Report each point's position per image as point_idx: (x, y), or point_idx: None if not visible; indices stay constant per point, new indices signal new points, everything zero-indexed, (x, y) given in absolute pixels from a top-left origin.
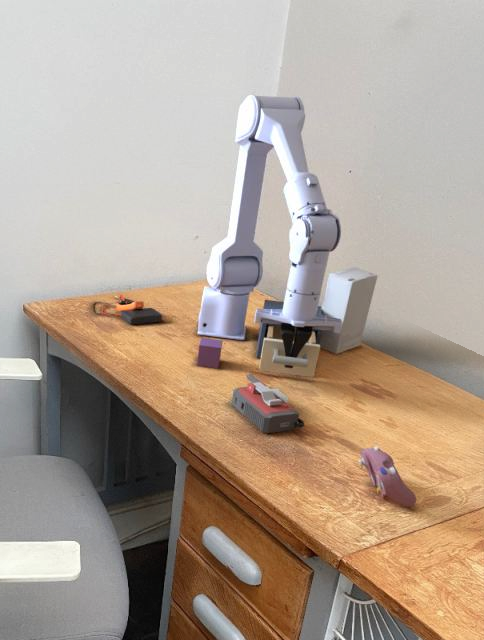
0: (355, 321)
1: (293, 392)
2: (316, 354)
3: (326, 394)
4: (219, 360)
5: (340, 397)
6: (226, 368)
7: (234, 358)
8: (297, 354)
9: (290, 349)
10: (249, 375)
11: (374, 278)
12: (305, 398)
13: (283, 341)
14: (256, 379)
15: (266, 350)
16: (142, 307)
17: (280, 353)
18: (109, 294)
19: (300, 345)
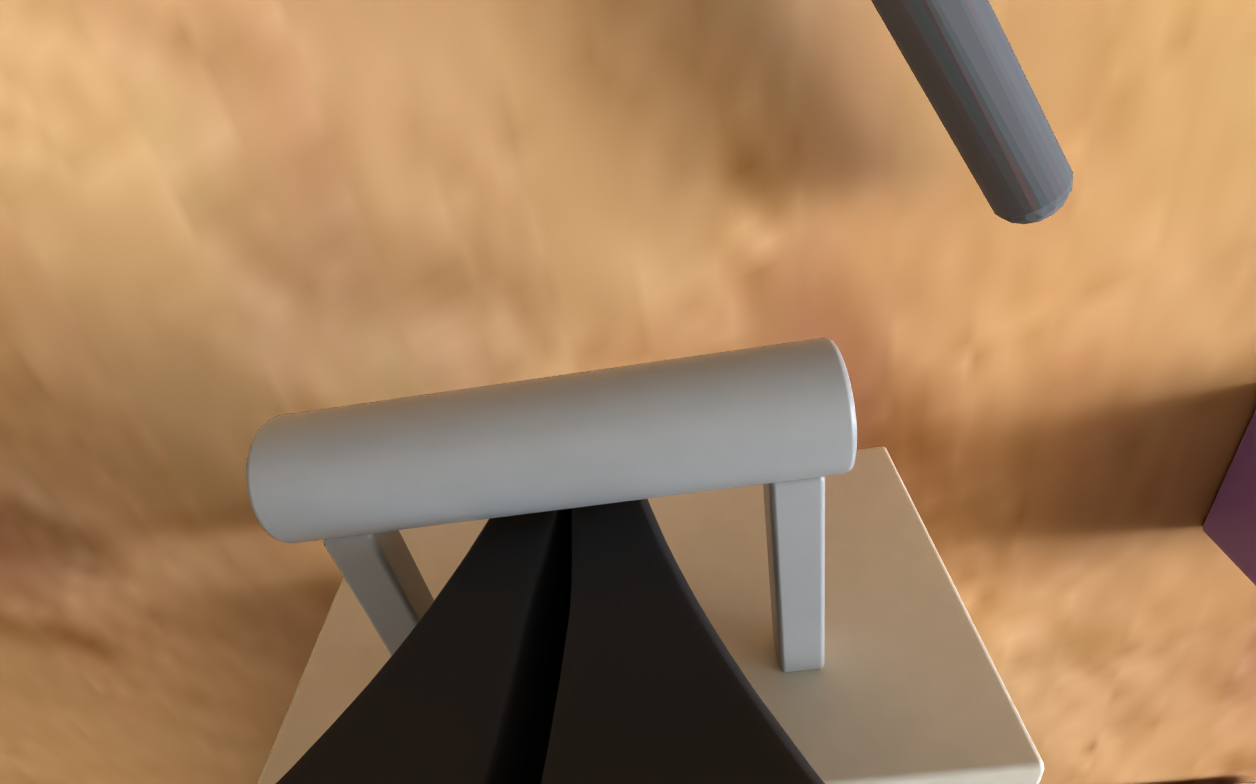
0: None
1: (460, 170)
2: (305, 724)
3: (153, 290)
4: (1248, 495)
5: (5, 286)
6: (1168, 418)
7: (1054, 603)
8: (456, 580)
9: (584, 622)
10: (1053, 161)
11: None
12: (279, 60)
13: (784, 746)
14: (971, 38)
15: (921, 629)
16: None
17: (734, 635)
18: None
19: (373, 743)
